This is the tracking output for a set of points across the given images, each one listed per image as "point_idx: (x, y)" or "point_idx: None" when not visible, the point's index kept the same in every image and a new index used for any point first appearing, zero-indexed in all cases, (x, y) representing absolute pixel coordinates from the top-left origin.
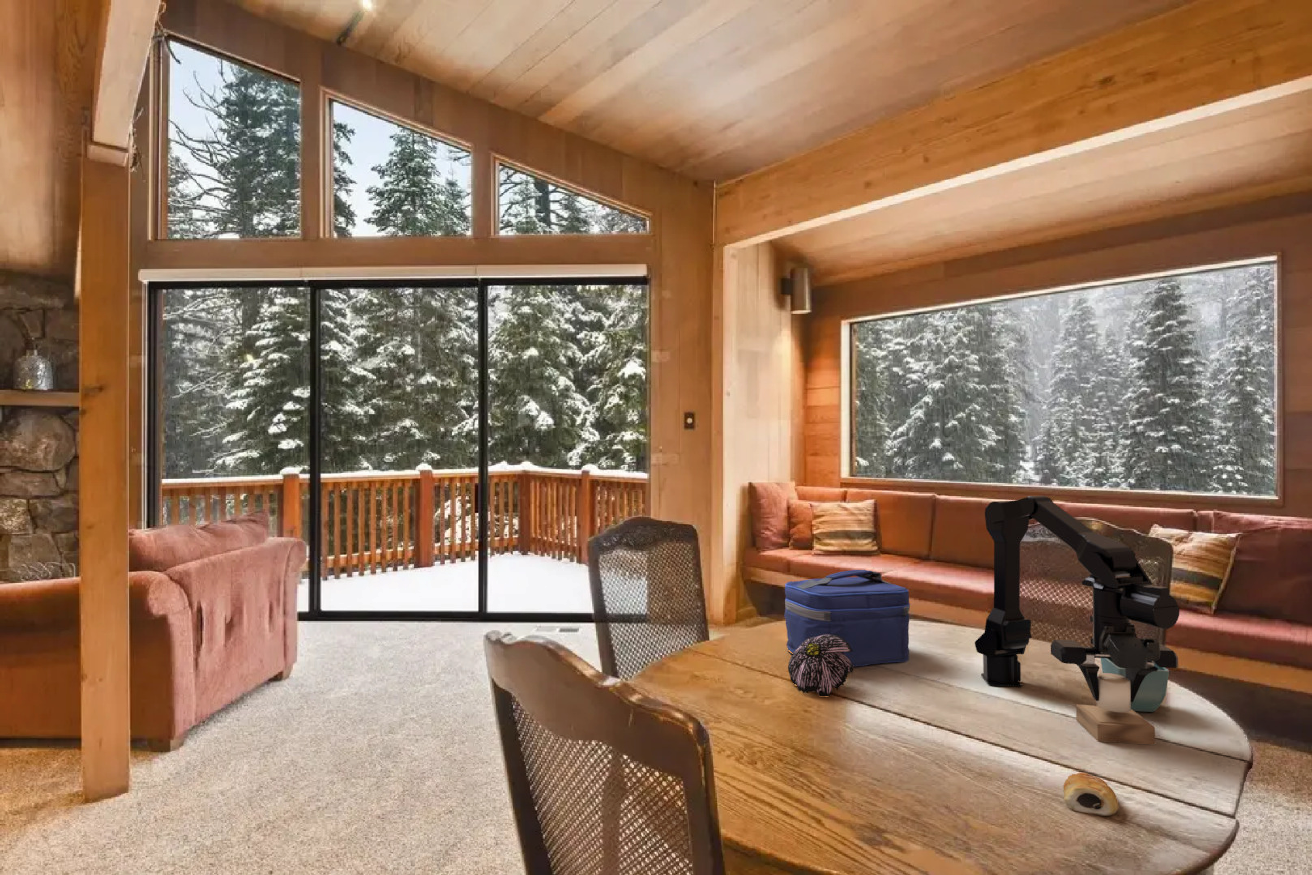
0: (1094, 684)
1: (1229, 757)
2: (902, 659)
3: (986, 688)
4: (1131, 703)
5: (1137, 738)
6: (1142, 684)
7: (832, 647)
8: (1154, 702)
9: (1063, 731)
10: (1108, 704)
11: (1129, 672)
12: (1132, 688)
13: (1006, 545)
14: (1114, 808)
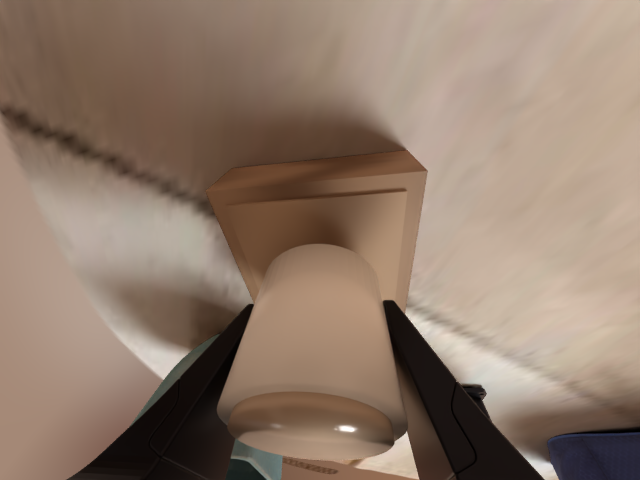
0: (438, 377)
1: (29, 119)
2: (584, 439)
3: (498, 379)
4: None
5: (278, 168)
6: None
7: None
8: (204, 350)
9: (479, 208)
10: (358, 270)
11: (202, 477)
12: (224, 361)
13: None
14: None
